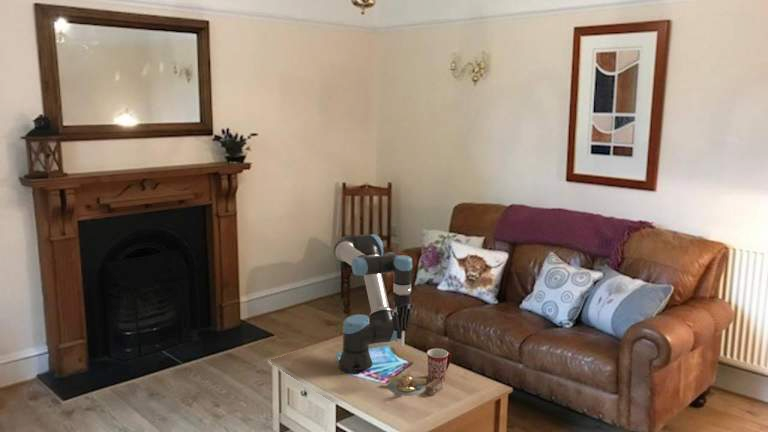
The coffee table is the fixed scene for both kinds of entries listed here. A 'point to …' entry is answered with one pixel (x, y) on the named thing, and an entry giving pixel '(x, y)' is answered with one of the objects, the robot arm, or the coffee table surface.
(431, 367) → the mug
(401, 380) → the cam capstan
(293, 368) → the coffee table surface
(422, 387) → the stand plate
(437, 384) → the brown angular block
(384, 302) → the robot arm
